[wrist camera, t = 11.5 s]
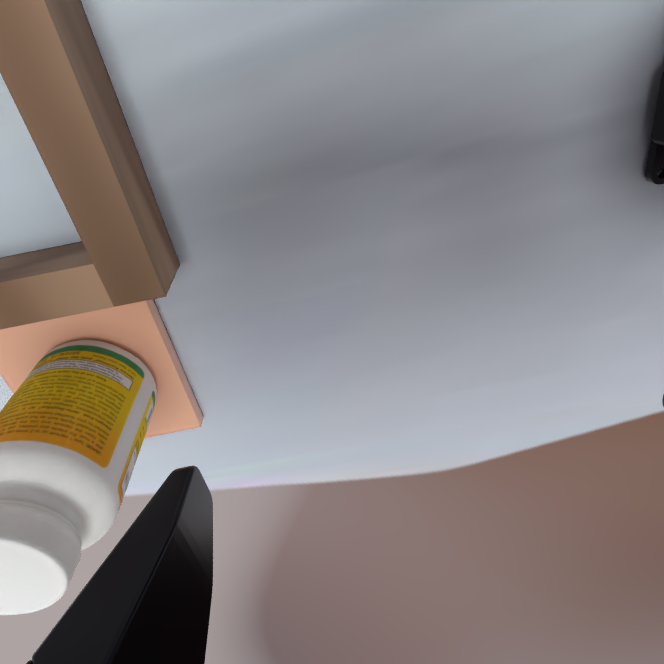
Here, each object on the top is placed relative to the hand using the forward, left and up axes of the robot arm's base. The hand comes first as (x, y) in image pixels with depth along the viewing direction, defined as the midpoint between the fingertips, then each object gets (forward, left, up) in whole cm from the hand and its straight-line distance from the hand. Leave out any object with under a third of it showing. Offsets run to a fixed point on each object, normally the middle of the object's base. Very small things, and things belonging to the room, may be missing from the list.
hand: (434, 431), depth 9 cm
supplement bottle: (+13, +5, -12) cm, 19 cm away
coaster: (+13, +5, -13) cm, 19 cm away
